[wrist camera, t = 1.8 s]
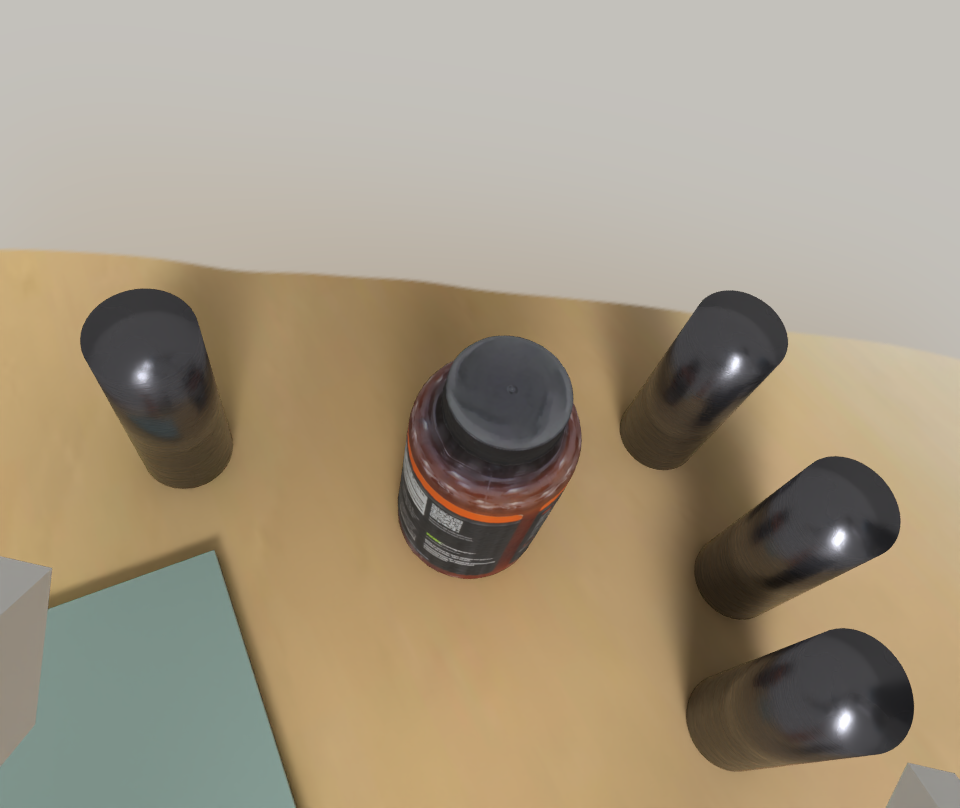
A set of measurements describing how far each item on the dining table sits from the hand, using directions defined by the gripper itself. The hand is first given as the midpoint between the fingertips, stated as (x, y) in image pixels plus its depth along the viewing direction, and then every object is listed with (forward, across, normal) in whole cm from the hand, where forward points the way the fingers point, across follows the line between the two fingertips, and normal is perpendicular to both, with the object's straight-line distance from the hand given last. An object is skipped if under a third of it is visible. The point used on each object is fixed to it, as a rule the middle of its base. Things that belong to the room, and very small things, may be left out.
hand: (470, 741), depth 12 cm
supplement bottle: (+22, +1, -6) cm, 22 cm away
